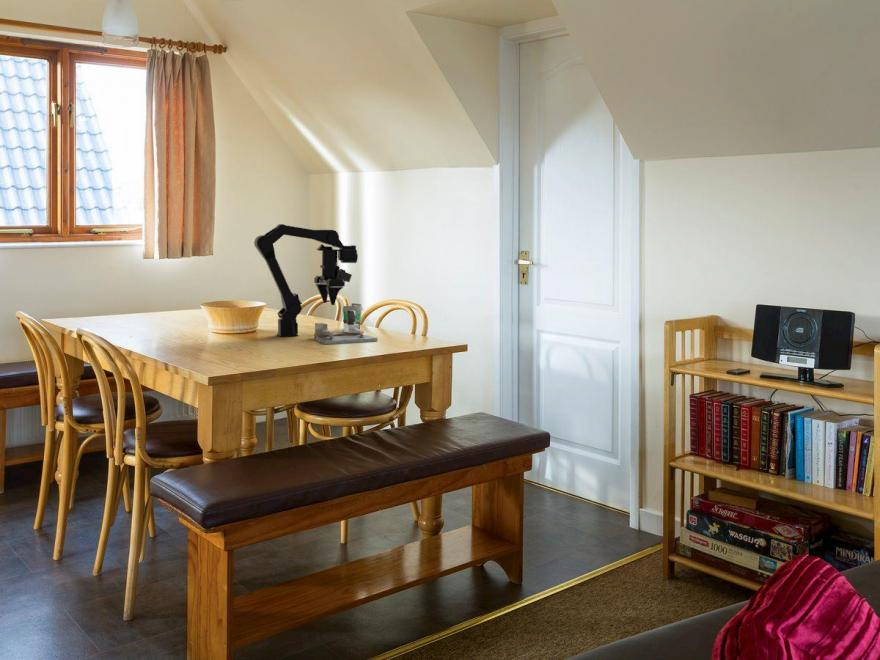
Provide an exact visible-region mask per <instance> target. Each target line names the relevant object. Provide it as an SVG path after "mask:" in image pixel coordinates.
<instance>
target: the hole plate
mask: <svg viewBox="0 0 880 660" xmlns="http://www.w3.org/2000/svg"><path fill="white" fill-rule="evenodd" d="M315 342H318V343H321V344H323V345H339V344H341V345H342V344H352V343H353V344H356V343H357V344H358V343H370V342H371V343H372V342H378V337H375V336H373V335H370V334H363V336H360V335H351V336H333V338H329V337H316V338H315Z"/></svg>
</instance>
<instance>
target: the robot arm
mask: <svg viewBox="0 0 880 660" xmlns="http://www.w3.org/2000/svg"><path fill="white" fill-rule="evenodd" d="M283 236H289V237H296V238H303V239H309V240H313V241H316V242H317V243H318V242H319V243H322V244H320V245H319V246H318V247H317V248H316V251H319V252H322V253H321V265H319V266H320V268H321V275H315V277H314V278H313V279H314V281H313V282H314V284H315V286H316V288H317V290H318V293H319V295H320V298H321V299H322V302H323V303H326V304H327V302H328V298H329V301H330V305H331V306H335V305H336V300H337V297H338V295H339V292H340V291H341V290H342V289H344V287H346V286H345V285H346V282H347V283H350V282H351V279H352V277H353V274H351V273H349V272H346V270H345V269H343V268H340V266H339V265H338V261H340V263H342V264H357V262H358V259H359V258H358V250H357V245H354V244H353V245H352V244H351V245H344V244H343V243H342V241H341V239H340V236H339V232H338V231H337V230H335V229H310V228H304V227H298V226H292V225H286V224H284V223H280V224H279V223H278V224H277V225H276V226H275V227H273V228H272V229H271V230H269V231H267V232H266V233H264V234H261V235H258V236H256V238H255V239H254V243H253V245H254V247H255V249H256V250H257V251H258V253H259V254H260V256H261V257H262V258H263V260H264V261H265V263H266V265H267V268H268V270H269V271H270V274H271V277H272V278H273V281H274V283H275V285H276V287H277V289H278V291H279V294H280V299H281V304H282V308H281V309H280V310H279V311H278V312H277V316H278V319H277V333H276V336H280V337H282V338H283V337H285V338H286V337H298V336H299V334H298V333H299V329H298V328H299V324H298V322H297V316H299V314H301V312H302V309H303V308H302V305H303V303H302V302H301V299H300V297H299V294H297V293H296V292H294V293H293V292H292V290H291V288H290V286H289V283H288V282H287V280H286V278H285V275H284V273H283V270H282V269H281V266H280V264H279V262H278V260H277V258H276V252H275V246H274V243H276V242H278V241H279V240H280V239H281V238H282V237H283ZM326 245H328V246H326ZM333 248H334V249H333ZM335 248H337V249H335Z"/></svg>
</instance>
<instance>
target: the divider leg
mask: <svg viewBox="0 0 880 660" xmlns="http://www.w3.org/2000/svg"><path fill="white" fill-rule="evenodd" d="M343 332H347V333H360V336H363V335H364V332H365V331H364V329H363V330H362V329H361V328H360V329H359V324H355V311H354V310H348V311H347V323H344V322H343Z"/></svg>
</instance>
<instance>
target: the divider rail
mask: <svg viewBox="0 0 880 660" xmlns="http://www.w3.org/2000/svg"><path fill="white" fill-rule="evenodd" d="M351 335H360V333H347V332H344V331H343V332H333V331H330V330H328V324H327V323H325V322H314V335H313V338H314V339H316V337H329V338H333V336H351Z"/></svg>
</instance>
